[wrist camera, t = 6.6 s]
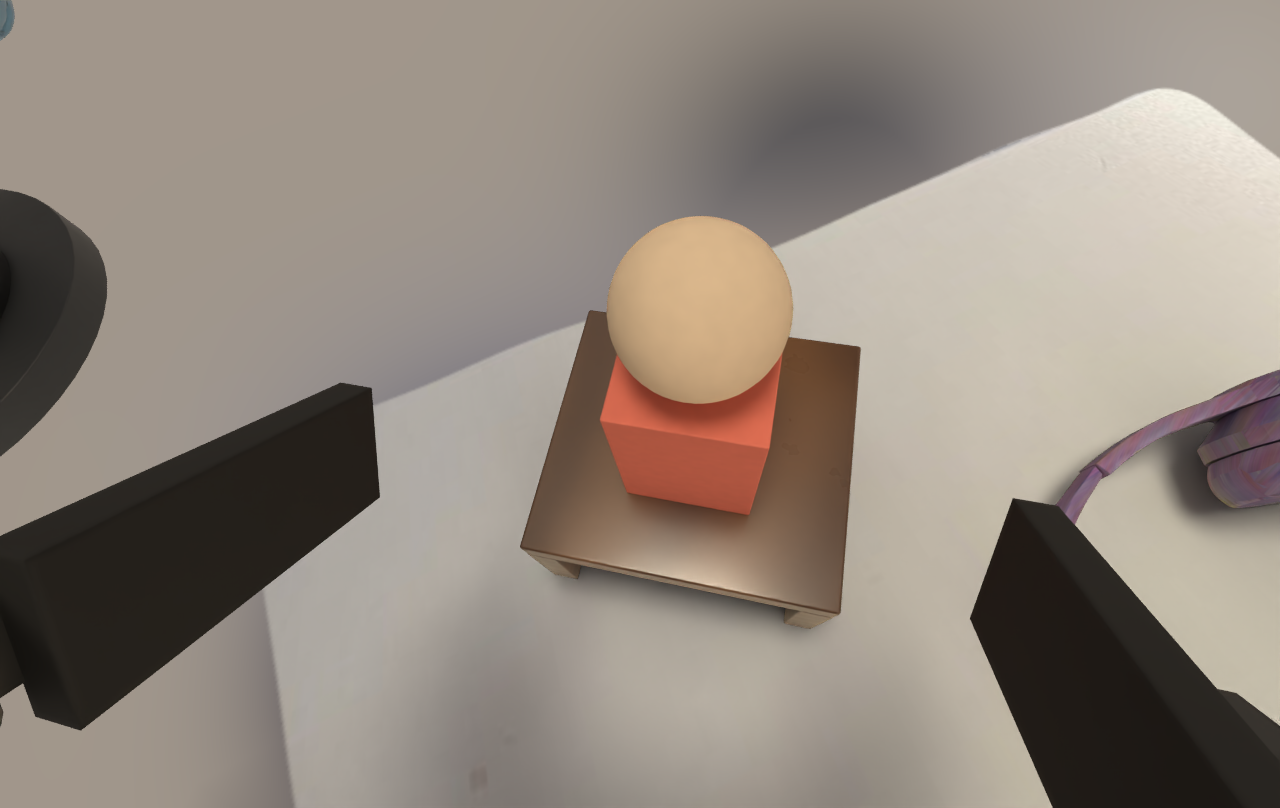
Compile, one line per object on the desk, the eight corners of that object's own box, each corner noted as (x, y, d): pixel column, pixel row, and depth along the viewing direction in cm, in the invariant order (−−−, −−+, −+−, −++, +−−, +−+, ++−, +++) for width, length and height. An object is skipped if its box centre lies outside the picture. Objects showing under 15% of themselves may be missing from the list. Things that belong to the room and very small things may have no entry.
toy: (626, 492, 24) (567, 336, 13) (653, 376, 26) (621, 158, 15) (749, 515, 23) (794, 368, 12) (766, 394, 25) (818, 176, 14)
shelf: (553, 574, 29) (518, 547, 23) (607, 372, 33) (588, 309, 27) (811, 629, 27) (841, 615, 21) (831, 406, 31) (861, 346, 25)
